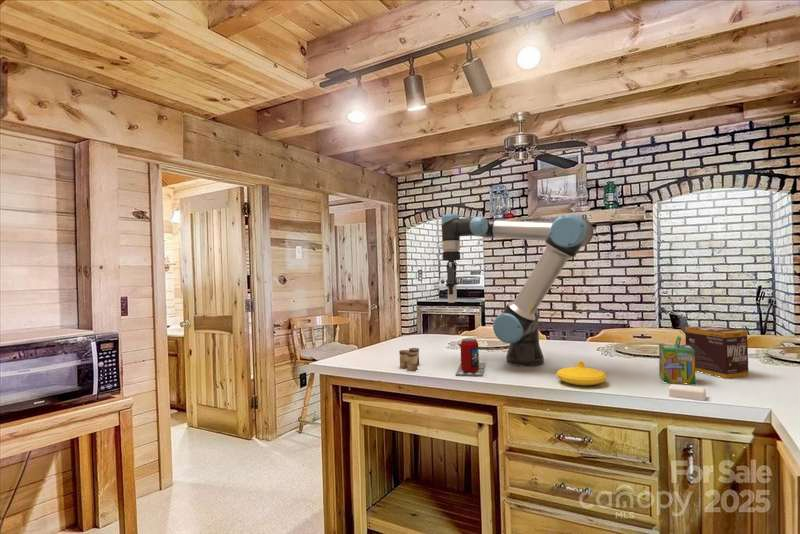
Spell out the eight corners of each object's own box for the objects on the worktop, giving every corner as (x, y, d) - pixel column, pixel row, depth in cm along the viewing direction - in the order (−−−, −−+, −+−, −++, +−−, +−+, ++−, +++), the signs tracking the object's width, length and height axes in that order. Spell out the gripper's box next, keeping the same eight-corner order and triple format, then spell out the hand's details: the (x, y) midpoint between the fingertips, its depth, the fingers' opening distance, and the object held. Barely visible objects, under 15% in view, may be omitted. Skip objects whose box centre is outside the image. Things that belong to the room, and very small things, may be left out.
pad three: (484, 370, 171) (484, 368, 171) (482, 376, 161) (482, 374, 161) (458, 369, 173) (458, 367, 173) (455, 375, 164) (455, 373, 164)
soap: (706, 397, 130) (705, 387, 130) (705, 402, 125) (704, 391, 125) (670, 393, 135) (670, 383, 135) (668, 397, 131) (667, 387, 131)
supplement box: (726, 379, 148) (725, 332, 148) (685, 369, 162) (684, 327, 162) (750, 376, 150) (748, 330, 150) (707, 367, 165) (706, 325, 165)
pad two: (485, 364, 182) (485, 362, 182) (484, 369, 172) (484, 367, 172) (460, 363, 184) (460, 361, 184) (458, 369, 174) (458, 367, 174)
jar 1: (410, 366, 182) (410, 350, 182) (408, 368, 178) (408, 352, 178) (401, 366, 183) (400, 350, 183) (398, 368, 179) (398, 351, 179)
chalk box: (659, 376, 154) (657, 334, 154) (690, 378, 150) (688, 334, 150) (663, 383, 145) (662, 338, 145) (696, 385, 142) (695, 339, 142)
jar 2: (420, 364, 186) (419, 348, 186) (418, 366, 182) (417, 349, 182) (410, 363, 187) (410, 347, 187) (408, 366, 183) (408, 349, 183)
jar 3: (418, 369, 177) (418, 352, 177) (416, 371, 173) (416, 354, 173) (408, 368, 178) (407, 351, 178) (406, 371, 174) (405, 353, 174)
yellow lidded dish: (548, 384, 149) (547, 363, 149) (568, 375, 160) (568, 355, 160) (596, 392, 138) (595, 369, 138) (614, 382, 149) (613, 361, 149)
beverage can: (479, 373, 163) (477, 340, 164) (460, 372, 165) (459, 340, 165) (479, 369, 170) (478, 338, 170) (461, 369, 171) (460, 338, 172)
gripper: (444, 252, 200) (446, 299, 200) (439, 250, 175) (440, 303, 175) (461, 251, 198) (462, 298, 198) (458, 249, 174) (459, 303, 174)
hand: (452, 301), depth 187 cm, fingers open, 13 cm apart
